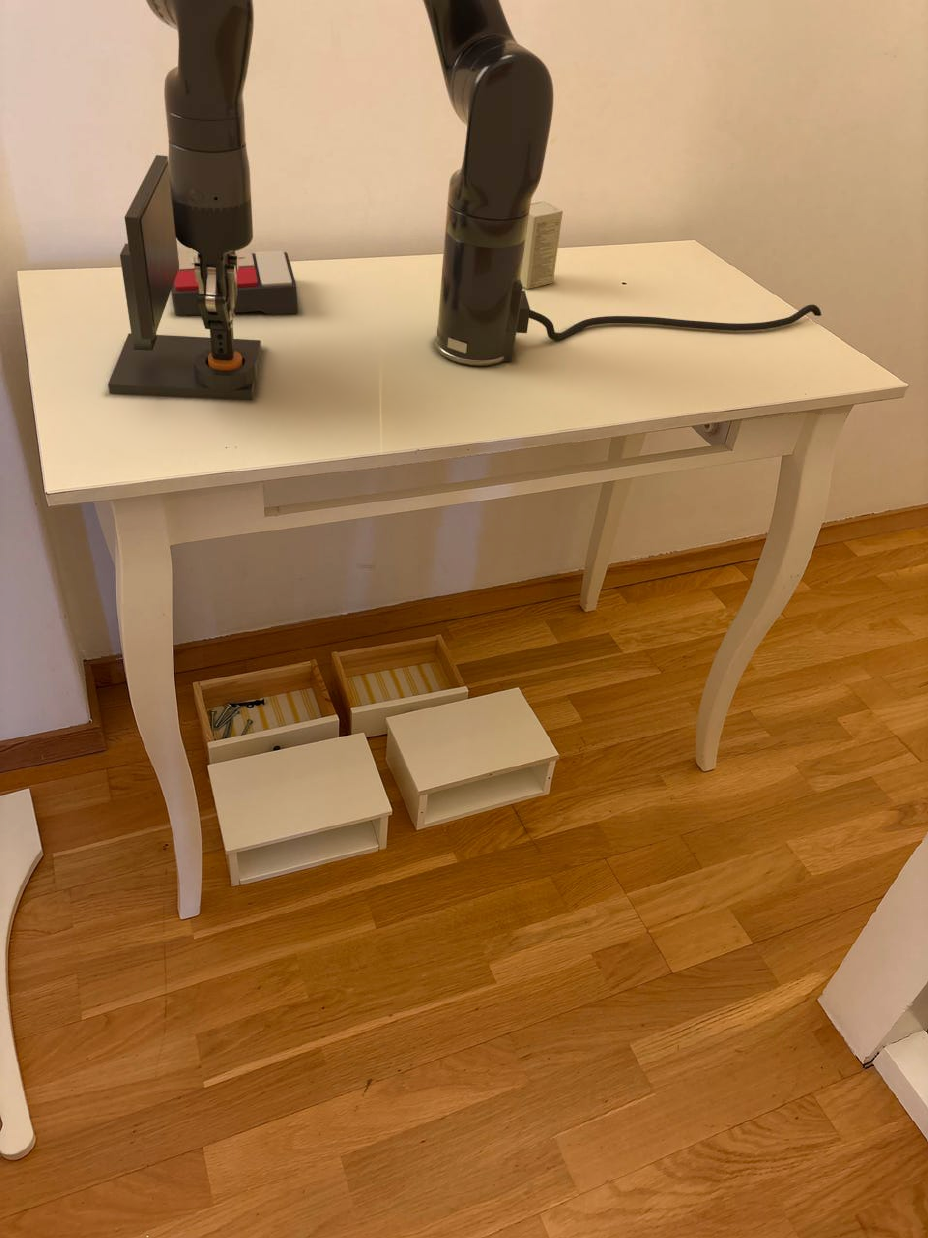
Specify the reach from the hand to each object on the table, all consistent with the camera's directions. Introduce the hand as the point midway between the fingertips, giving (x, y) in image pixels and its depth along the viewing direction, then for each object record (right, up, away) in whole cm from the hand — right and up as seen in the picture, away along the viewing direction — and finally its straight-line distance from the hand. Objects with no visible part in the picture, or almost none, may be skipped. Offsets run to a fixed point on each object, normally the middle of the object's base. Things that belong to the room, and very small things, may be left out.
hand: (223, 356), depth 103 cm
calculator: (-3, +13, +19) cm, 23 cm away
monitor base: (-5, 0, +4) cm, 6 cm away
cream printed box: (+35, +19, +32) cm, 52 cm away
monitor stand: (-9, +2, +1) cm, 9 cm away
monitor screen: (-6, +5, -2) cm, 9 cm away
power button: (0, -2, +1) cm, 2 cm away
